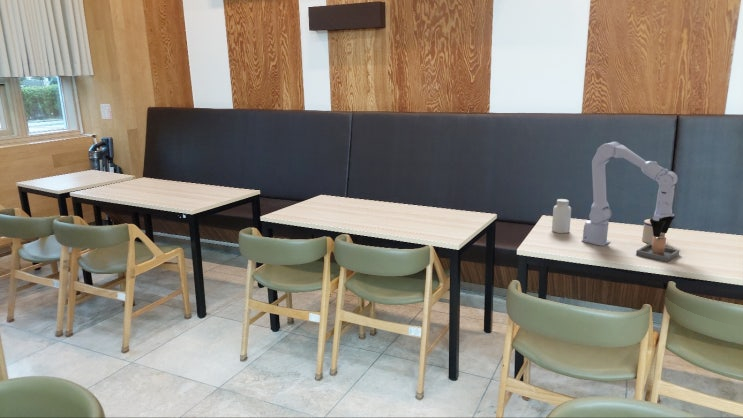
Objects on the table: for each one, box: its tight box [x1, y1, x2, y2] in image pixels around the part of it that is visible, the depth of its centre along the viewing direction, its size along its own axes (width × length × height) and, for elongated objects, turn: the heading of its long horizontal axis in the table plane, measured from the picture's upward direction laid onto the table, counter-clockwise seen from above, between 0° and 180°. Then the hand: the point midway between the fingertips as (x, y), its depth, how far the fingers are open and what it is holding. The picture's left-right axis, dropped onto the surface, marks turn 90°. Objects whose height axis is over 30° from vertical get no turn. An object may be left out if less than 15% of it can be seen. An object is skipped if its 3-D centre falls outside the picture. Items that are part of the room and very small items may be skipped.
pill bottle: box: [551, 198, 572, 234], centre depth 255 cm, size 8×8×15 cm
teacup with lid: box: [641, 218, 666, 245], centre depth 241 cm, size 12×9×12 cm
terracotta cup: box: [651, 236, 667, 256], centre depth 223 cm, size 5×5×7 cm
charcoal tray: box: [635, 243, 680, 263], centre depth 224 cm, size 12×13×2 cm
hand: (660, 234), depth 222 cm, fingers open, 7 cm apart
